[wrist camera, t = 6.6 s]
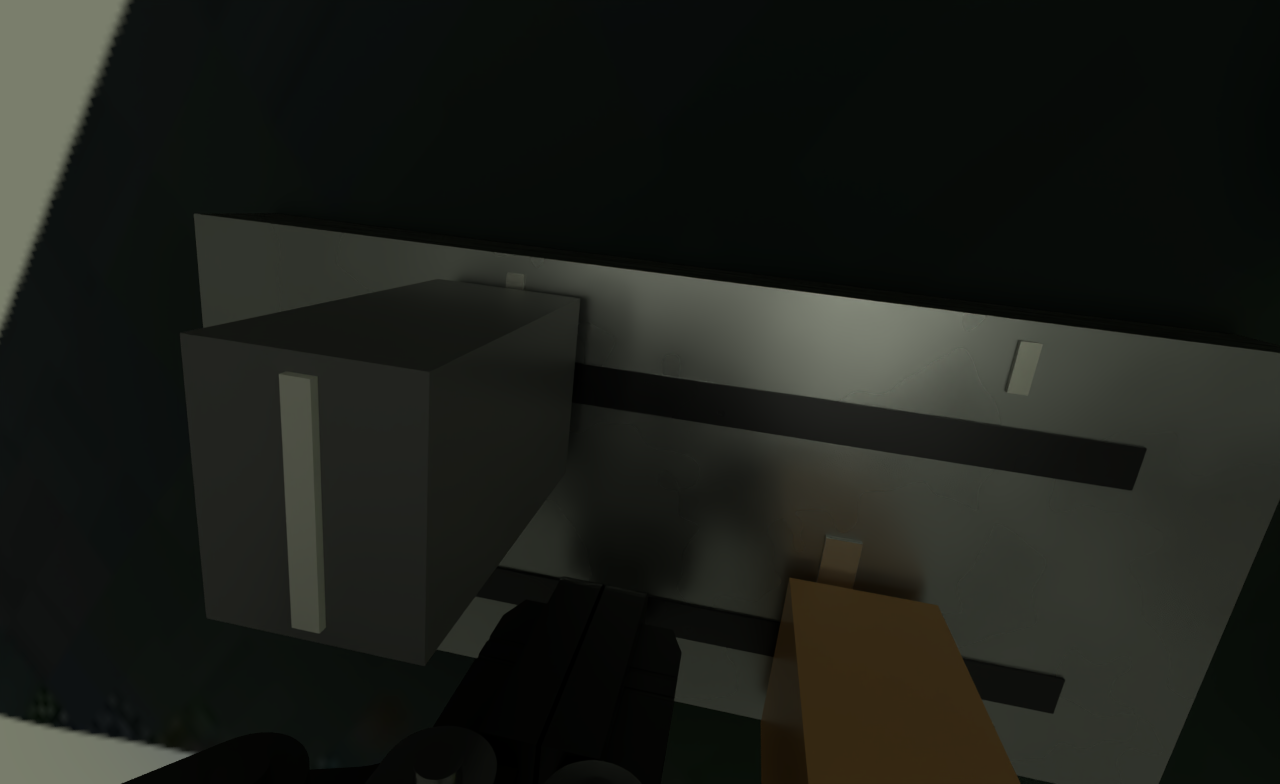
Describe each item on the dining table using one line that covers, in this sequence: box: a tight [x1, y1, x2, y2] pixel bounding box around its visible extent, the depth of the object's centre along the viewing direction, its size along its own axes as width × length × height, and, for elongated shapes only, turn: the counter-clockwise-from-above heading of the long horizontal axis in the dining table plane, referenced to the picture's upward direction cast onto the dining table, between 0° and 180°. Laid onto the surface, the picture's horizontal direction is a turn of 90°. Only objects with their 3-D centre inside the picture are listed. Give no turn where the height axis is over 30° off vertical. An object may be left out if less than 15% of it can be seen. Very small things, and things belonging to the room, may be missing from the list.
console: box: [194, 213, 1280, 784], centre depth 12 cm, size 8×18×2 cm, turn 83°
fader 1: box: [180, 279, 580, 666], centre depth 8 cm, size 3×2×5 cm
